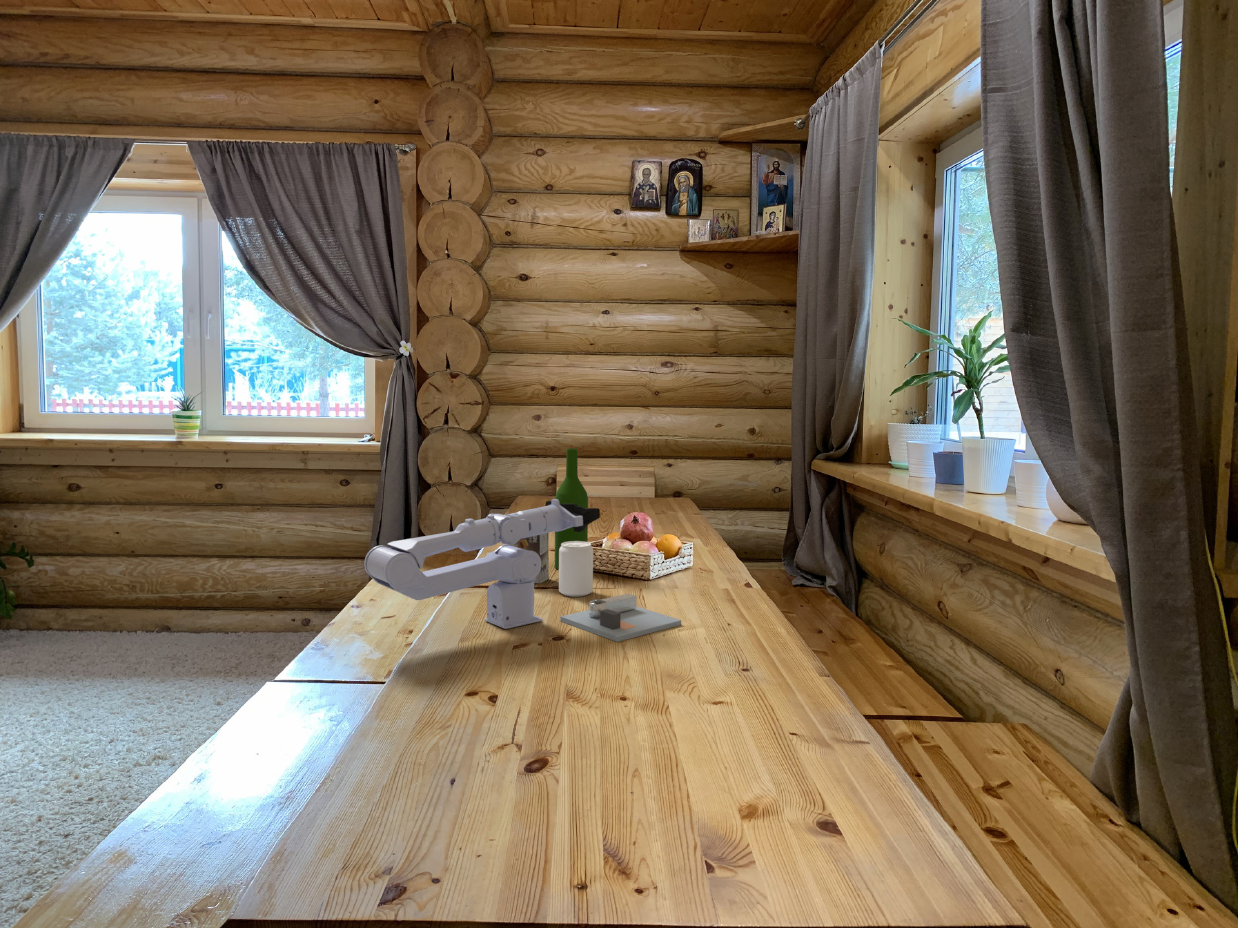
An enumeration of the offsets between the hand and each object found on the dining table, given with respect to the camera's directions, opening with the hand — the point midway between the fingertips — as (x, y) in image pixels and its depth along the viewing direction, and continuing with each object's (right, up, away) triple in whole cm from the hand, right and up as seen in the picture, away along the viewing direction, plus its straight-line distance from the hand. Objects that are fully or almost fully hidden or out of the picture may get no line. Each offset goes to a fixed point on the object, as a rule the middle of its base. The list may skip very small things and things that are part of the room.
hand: (587, 510), depth 182 cm
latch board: (+7, -23, -11) cm, 26 cm away
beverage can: (-3, -21, +13) cm, 25 cm away
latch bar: (+5, -21, -8) cm, 23 cm away
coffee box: (-16, -19, +25) cm, 36 cm away
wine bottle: (-6, -18, +40) cm, 44 cm away
